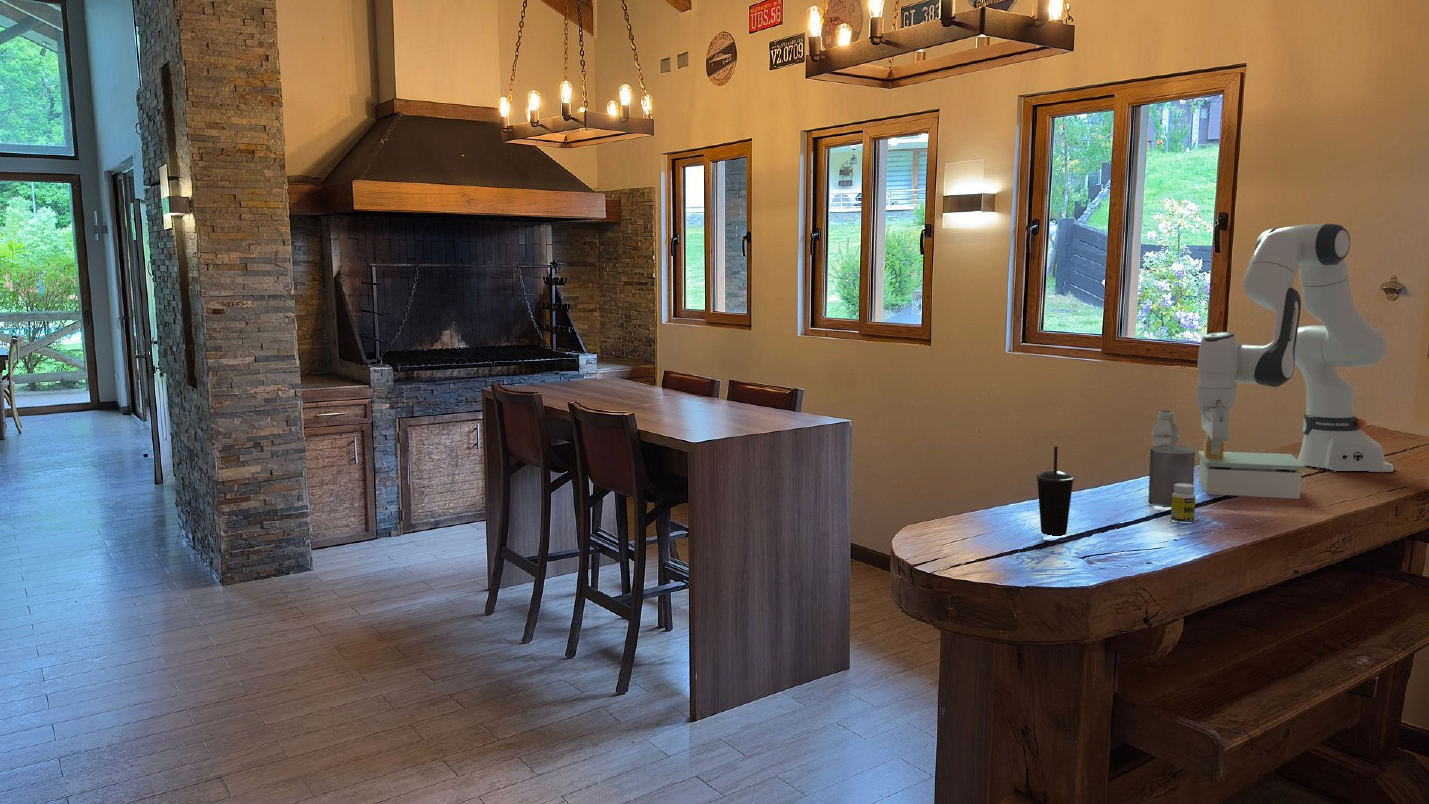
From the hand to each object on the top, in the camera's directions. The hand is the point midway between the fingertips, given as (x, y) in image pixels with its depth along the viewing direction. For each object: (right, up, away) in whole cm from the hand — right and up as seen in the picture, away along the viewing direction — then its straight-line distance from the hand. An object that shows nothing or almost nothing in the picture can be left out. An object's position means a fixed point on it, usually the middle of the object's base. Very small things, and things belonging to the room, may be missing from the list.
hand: (1213, 452), depth 239 cm
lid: (+8, -4, -2) cm, 9 cm away
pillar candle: (-16, -12, -11) cm, 23 cm away
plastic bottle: (-10, -10, +6) cm, 15 cm away
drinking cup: (-54, -17, -37) cm, 67 cm away
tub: (+8, -10, -1) cm, 13 cm away
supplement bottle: (-21, -14, -26) cm, 36 cm away
